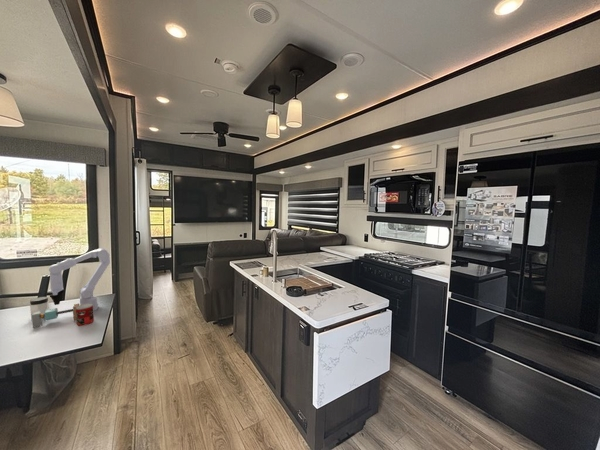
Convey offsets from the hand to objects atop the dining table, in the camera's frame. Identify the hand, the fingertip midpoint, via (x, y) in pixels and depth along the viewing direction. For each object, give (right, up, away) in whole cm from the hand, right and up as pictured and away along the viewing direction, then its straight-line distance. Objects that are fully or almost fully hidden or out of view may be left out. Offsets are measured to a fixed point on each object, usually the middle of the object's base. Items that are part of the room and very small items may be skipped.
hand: (58, 302), depth 162 cm
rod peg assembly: (+6, -10, -6) cm, 13 cm away
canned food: (+25, -10, -8) cm, 29 cm away
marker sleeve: (+4, -7, -8) cm, 12 cm away
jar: (-13, -10, +1) cm, 16 cm away
